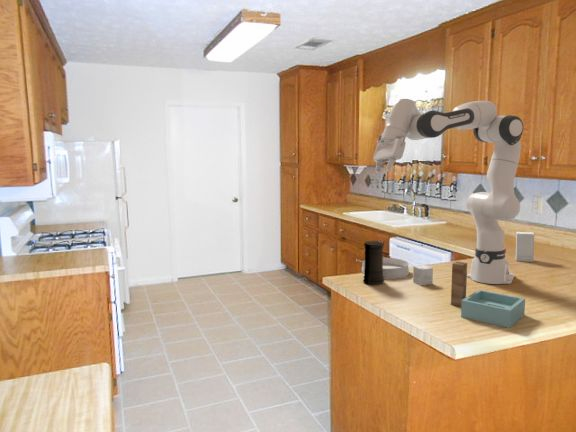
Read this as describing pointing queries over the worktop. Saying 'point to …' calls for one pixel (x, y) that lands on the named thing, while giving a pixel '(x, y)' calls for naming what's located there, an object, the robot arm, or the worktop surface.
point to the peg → (458, 283)
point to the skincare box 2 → (525, 246)
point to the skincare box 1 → (423, 275)
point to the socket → (493, 308)
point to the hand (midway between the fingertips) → (382, 171)
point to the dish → (392, 268)
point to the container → (373, 263)
